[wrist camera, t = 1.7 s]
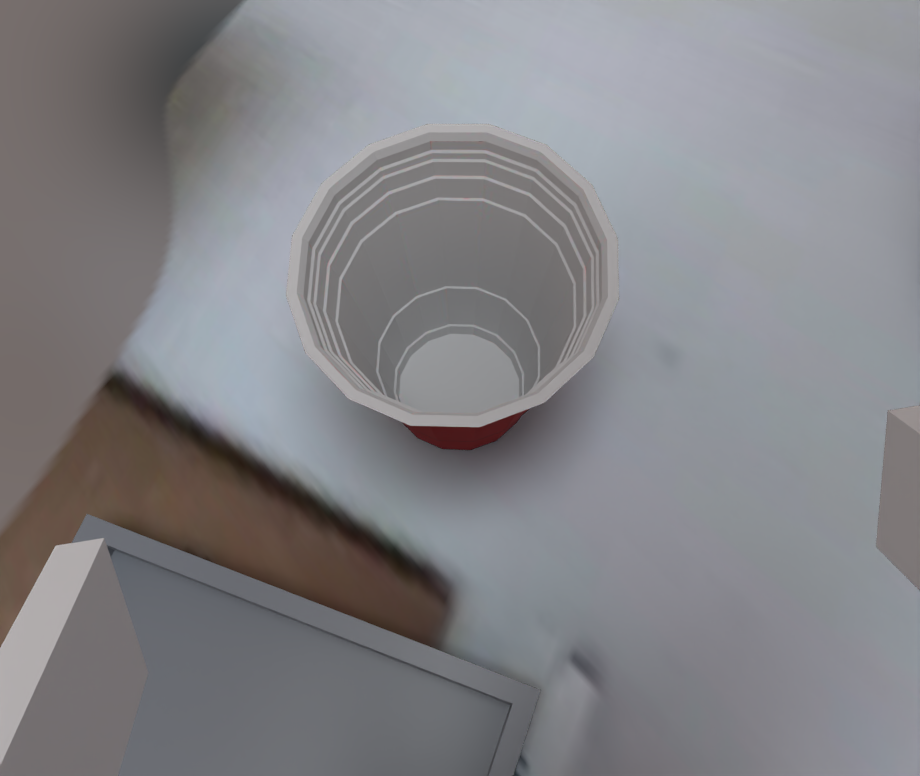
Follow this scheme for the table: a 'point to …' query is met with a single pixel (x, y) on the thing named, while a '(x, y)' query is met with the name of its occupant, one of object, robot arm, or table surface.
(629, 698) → the table surface
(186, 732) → the grey shallow square tray
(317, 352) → the plastic cup
